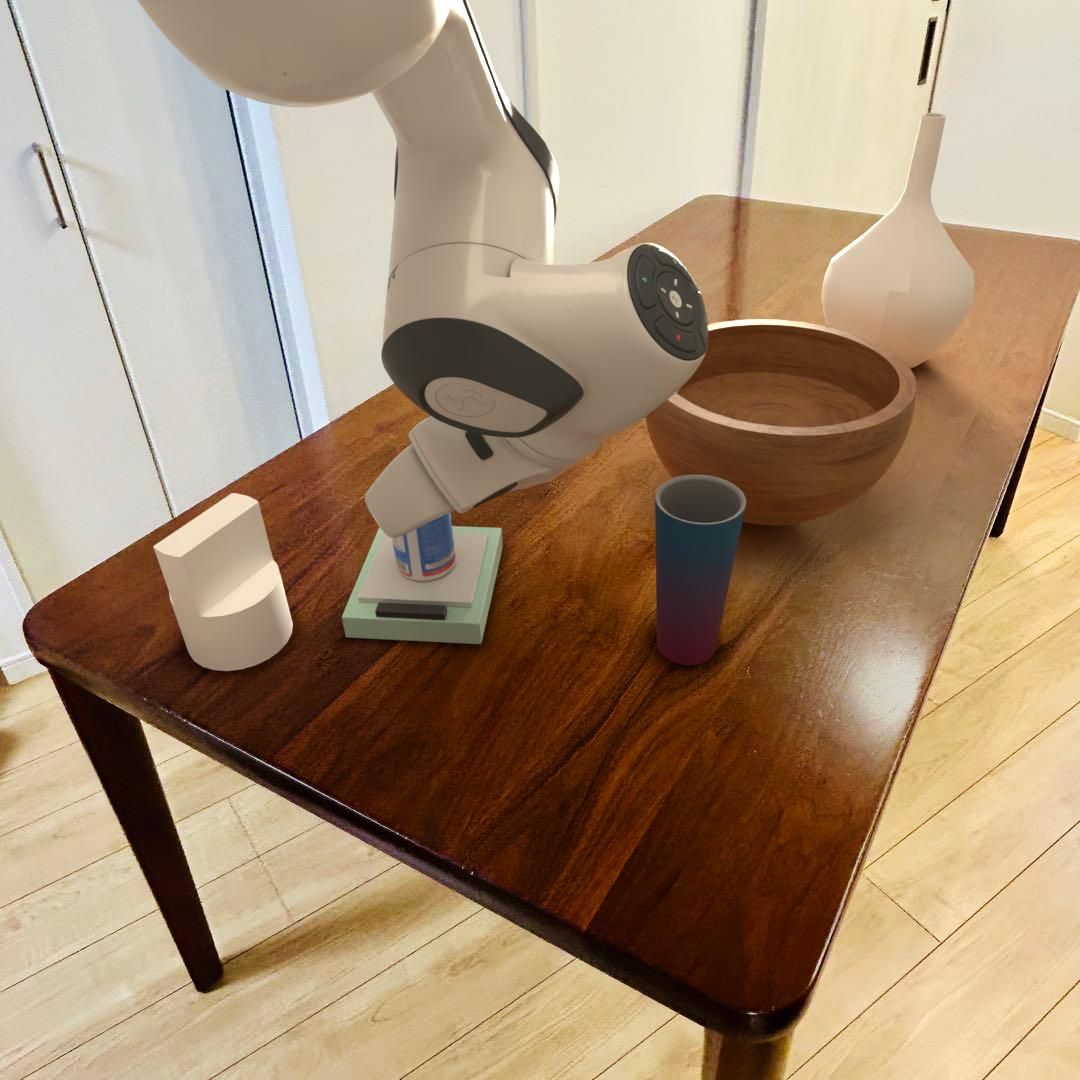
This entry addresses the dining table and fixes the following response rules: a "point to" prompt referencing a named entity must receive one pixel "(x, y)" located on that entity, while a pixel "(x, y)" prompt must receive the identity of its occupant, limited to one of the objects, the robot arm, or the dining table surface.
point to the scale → (426, 593)
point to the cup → (694, 562)
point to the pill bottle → (426, 550)
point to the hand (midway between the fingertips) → (446, 487)
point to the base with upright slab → (226, 586)
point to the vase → (903, 269)
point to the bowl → (788, 417)
